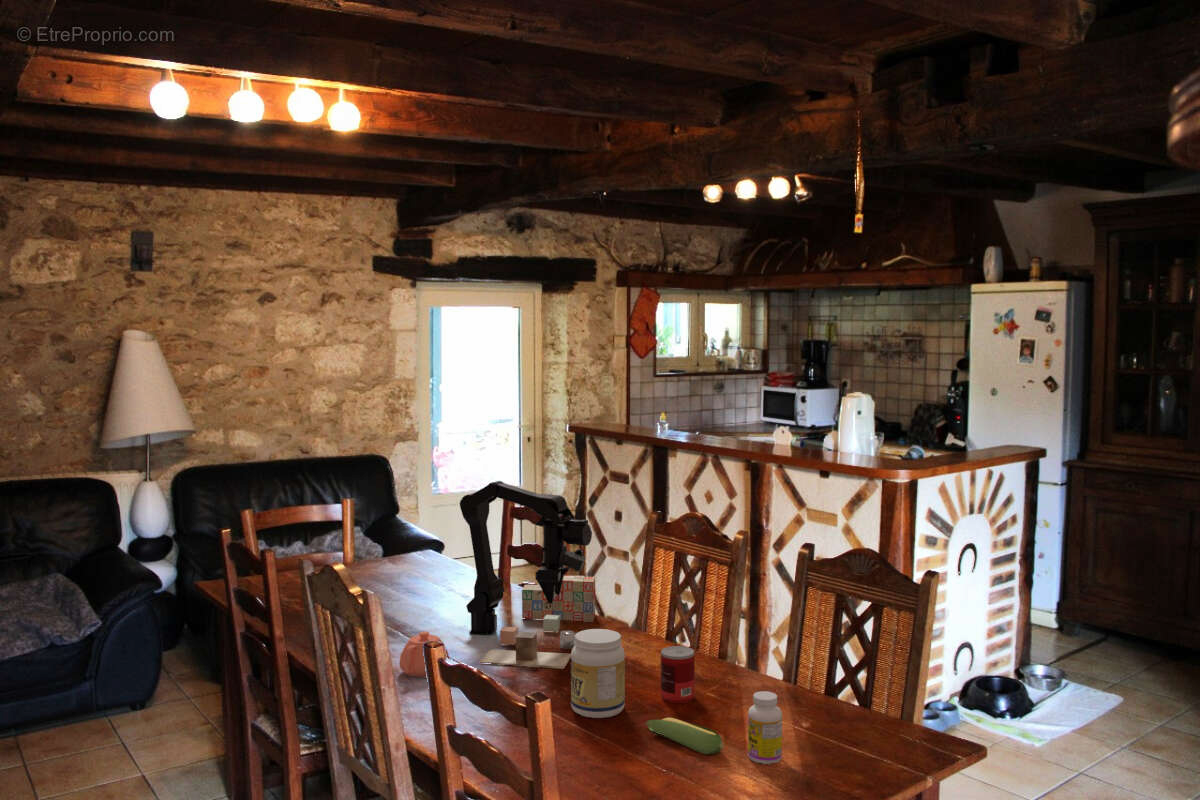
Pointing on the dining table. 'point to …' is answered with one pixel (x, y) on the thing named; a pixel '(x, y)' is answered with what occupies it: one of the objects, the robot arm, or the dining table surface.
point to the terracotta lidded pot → (416, 654)
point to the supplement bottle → (765, 729)
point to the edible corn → (688, 734)
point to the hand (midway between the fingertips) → (554, 598)
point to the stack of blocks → (562, 600)
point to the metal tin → (567, 639)
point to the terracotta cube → (508, 635)
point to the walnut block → (526, 646)
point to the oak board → (540, 661)
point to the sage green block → (551, 623)
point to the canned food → (677, 674)
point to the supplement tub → (597, 673)
